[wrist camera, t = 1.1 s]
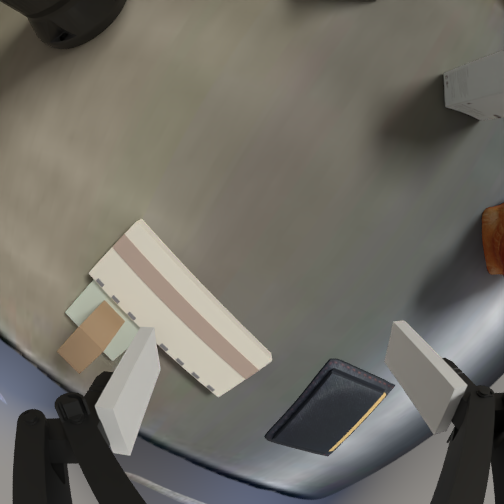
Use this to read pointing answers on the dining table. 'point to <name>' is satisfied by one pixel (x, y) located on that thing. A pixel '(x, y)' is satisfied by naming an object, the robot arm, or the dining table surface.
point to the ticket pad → (178, 310)
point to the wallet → (330, 408)
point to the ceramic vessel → (493, 238)
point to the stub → (96, 328)
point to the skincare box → (477, 87)
